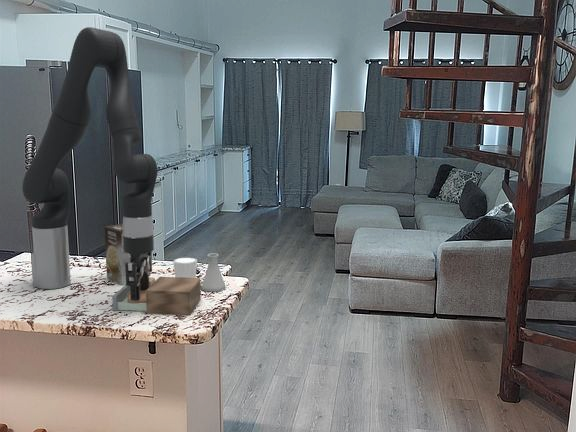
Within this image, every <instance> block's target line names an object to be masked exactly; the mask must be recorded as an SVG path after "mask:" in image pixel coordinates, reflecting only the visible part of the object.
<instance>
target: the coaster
mask: <svg viewBox="0 0 576 432" xmlns="http://www.w3.org/2000/svg"><path fill="white" fill-rule="evenodd" d="M127 296H128V303H146V290H140V299H139V300H138V301H132V300H131V296H130V292H129V293H128V294H127Z"/></svg>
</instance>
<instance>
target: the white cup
mask: <svg viewBox="0 0 576 432" xmlns="http://www.w3.org/2000/svg"><path fill="white" fill-rule="evenodd" d="M172 261H173V262H172V263H173V270H174V277H186V278H197V265H198V259H197V258H195V257H179V258H176V259H174V260H172Z"/></svg>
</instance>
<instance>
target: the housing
mask: <svg viewBox="0 0 576 432" xmlns="http://www.w3.org/2000/svg"><path fill="white" fill-rule="evenodd" d="M201 291H202V290H201V278H200V277H196V278H186V277H175V276H159V277H158V278H157V279H155V282H154V283H153V284H152V285H151V286H150V287H149V288H148V289H147V290H146V308H147V311H146V314H148V315H149V314H150V315H151V314H153V315H171V316H172V315H174V316H175V315H176V316H177V315H178V316H191V315H192V313H193V311H194V310H195V309H196V307H197V306H198V304H199V303H200V301H201V299H202V298H201V296H202V295H201V294H202V293H201Z"/></svg>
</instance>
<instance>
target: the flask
mask: <svg viewBox="0 0 576 432" xmlns="http://www.w3.org/2000/svg"><path fill="white" fill-rule="evenodd" d="M207 258H208V264H207V269H206V272H205V276H204V278H203V281H202V284H201V285H200V289H201V291H205V292H210V293H211V292H222V291H223V290H225V289H226V284H225V281H224V278H223V276H222V272H221V269H220V267H219V262H218V261H219V260H218V258H219V253H213V252H212V253H207Z"/></svg>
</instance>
